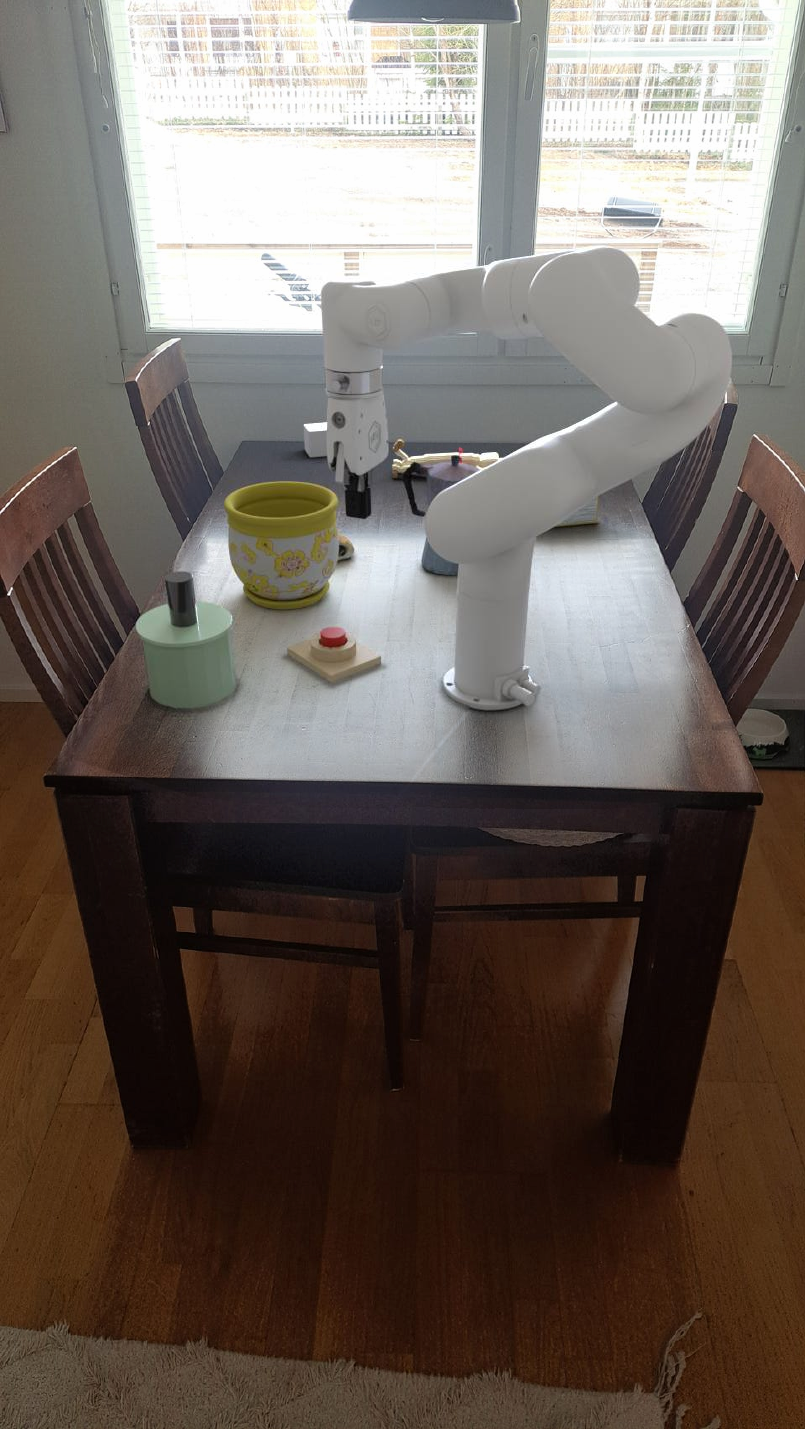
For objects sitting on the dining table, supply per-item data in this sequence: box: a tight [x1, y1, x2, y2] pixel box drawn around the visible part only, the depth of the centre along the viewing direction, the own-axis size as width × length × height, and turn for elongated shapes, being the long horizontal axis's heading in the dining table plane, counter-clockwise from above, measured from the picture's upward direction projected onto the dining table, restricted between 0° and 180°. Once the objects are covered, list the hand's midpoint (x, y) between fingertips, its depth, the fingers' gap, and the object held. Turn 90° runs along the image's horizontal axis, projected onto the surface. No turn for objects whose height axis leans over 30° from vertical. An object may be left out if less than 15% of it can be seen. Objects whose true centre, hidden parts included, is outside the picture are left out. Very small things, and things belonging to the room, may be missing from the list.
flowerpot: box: [223, 480, 339, 611], centre depth 164 cm, size 18×18×16 cm
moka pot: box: [402, 455, 479, 576], centre depth 173 cm, size 10×15×20 cm, turn 78°
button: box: [319, 626, 346, 648], centre depth 146 cm, size 4×4×2 cm
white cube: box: [303, 422, 327, 458], centre depth 233 cm, size 6×6×6 cm
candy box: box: [553, 495, 600, 528], centre depth 193 cm, size 16×2×8 cm, turn 105°
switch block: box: [286, 631, 382, 683], centre depth 147 cm, size 11×9×4 cm
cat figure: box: [391, 439, 504, 479], centre depth 218 cm, size 10×9×25 cm
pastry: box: [337, 533, 355, 562], centre depth 182 cm, size 9×7×4 cm
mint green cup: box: [140, 628, 237, 709], centre depth 138 cm, size 12×12×10 cm
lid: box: [135, 570, 234, 647], centre depth 134 cm, size 13×13×8 cm
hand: (358, 515), depth 140 cm, fingers closed
